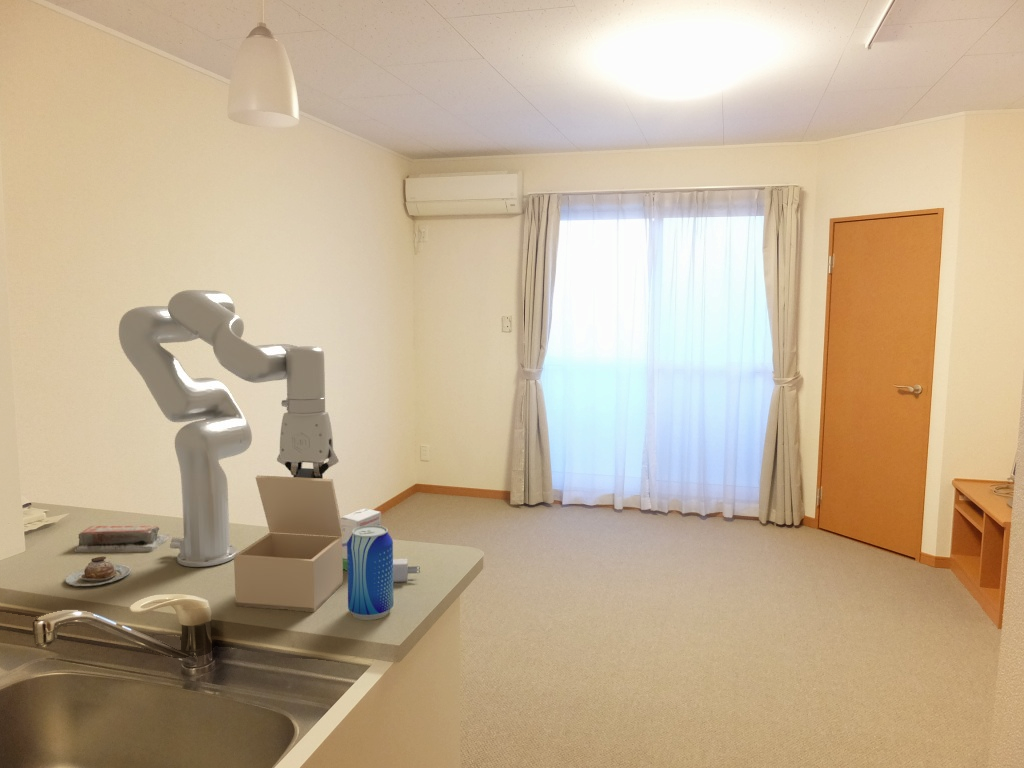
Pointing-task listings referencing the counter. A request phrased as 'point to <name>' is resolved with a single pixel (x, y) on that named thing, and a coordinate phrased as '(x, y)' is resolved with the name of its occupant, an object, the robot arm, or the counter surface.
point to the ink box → (353, 522)
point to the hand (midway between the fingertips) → (308, 492)
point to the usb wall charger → (402, 570)
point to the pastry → (98, 572)
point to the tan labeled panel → (300, 504)
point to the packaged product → (120, 539)
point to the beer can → (370, 572)
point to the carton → (288, 572)
